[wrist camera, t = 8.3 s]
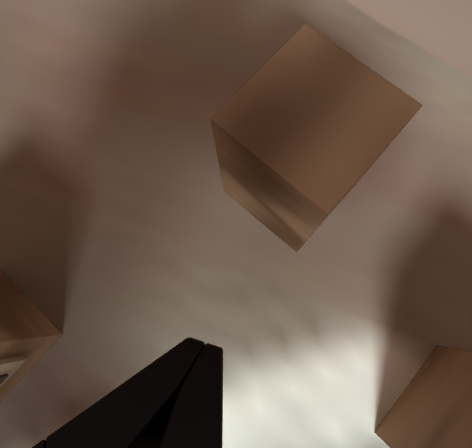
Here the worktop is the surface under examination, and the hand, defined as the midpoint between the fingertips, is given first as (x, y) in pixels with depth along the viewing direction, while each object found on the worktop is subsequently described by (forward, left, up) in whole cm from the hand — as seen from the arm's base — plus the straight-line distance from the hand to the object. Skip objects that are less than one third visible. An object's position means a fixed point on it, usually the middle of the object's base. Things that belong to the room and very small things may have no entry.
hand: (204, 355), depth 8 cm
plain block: (+3, -9, -13) cm, 16 cm away
